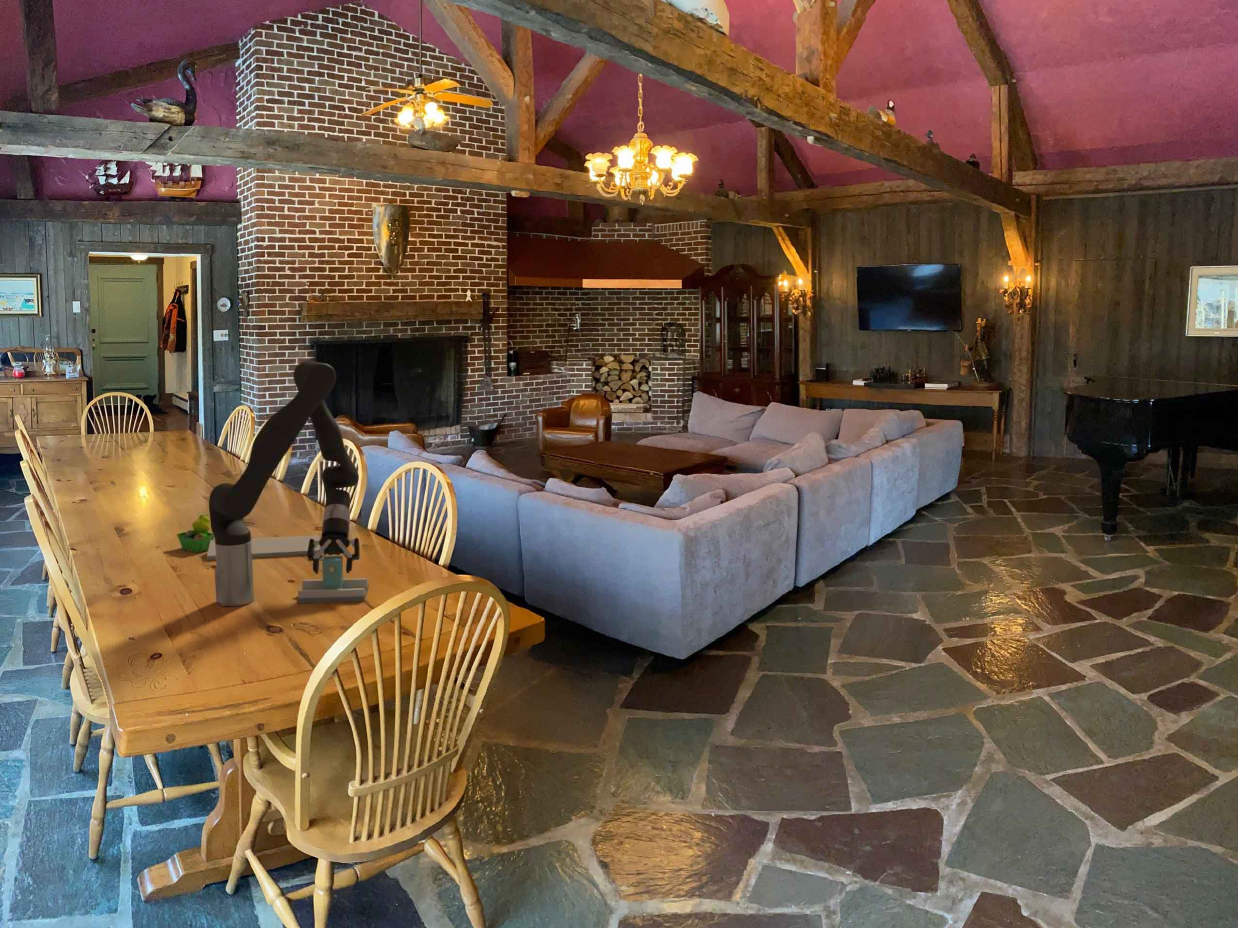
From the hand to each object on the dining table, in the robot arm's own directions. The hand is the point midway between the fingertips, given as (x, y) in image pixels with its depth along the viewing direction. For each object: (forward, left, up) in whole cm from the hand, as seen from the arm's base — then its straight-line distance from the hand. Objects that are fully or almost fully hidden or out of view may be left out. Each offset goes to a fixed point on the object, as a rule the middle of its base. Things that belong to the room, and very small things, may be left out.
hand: (332, 572), depth 266 cm
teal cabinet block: (+1, +1, -6) cm, 7 cm away
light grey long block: (-2, +57, -8) cm, 58 cm away
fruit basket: (-18, +75, -8) cm, 77 cm away
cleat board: (+1, +2, -8) cm, 8 cm away
